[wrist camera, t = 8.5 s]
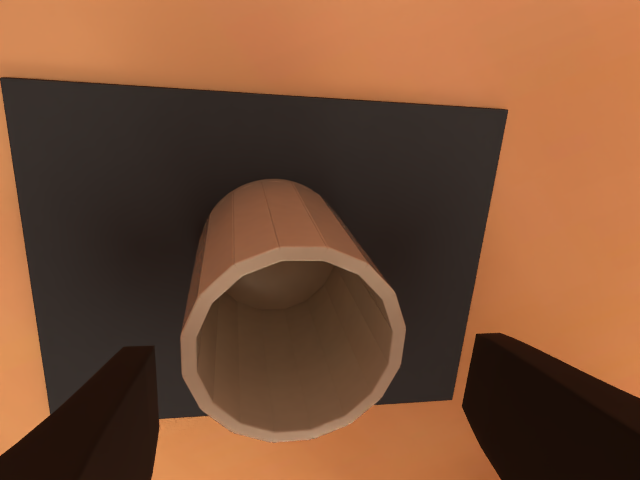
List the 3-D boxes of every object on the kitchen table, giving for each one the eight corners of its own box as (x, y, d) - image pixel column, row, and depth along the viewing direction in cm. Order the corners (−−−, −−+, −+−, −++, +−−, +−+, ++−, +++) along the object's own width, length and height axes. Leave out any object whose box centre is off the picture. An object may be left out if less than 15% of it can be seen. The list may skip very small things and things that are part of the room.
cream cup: (336, 309, 19) (391, 434, 12) (201, 312, 18) (184, 450, 11) (347, 180, 17) (418, 246, 11) (199, 176, 16) (177, 246, 10)
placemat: (449, 396, 22) (452, 400, 21) (54, 420, 19) (51, 426, 18) (504, 109, 18) (508, 109, 17) (3, 77, 14) (-1, 77, 14)
